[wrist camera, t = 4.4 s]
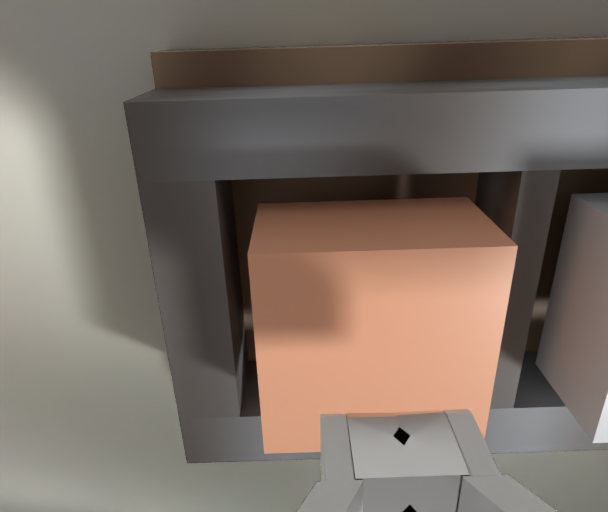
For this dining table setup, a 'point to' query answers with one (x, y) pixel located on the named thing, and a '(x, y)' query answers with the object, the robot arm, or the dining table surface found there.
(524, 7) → the dining table surface
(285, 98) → the compartment tray
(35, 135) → the dining table surface
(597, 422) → the grey key
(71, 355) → the dining table surface
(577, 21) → the dining table surface
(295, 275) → the terracotta key
